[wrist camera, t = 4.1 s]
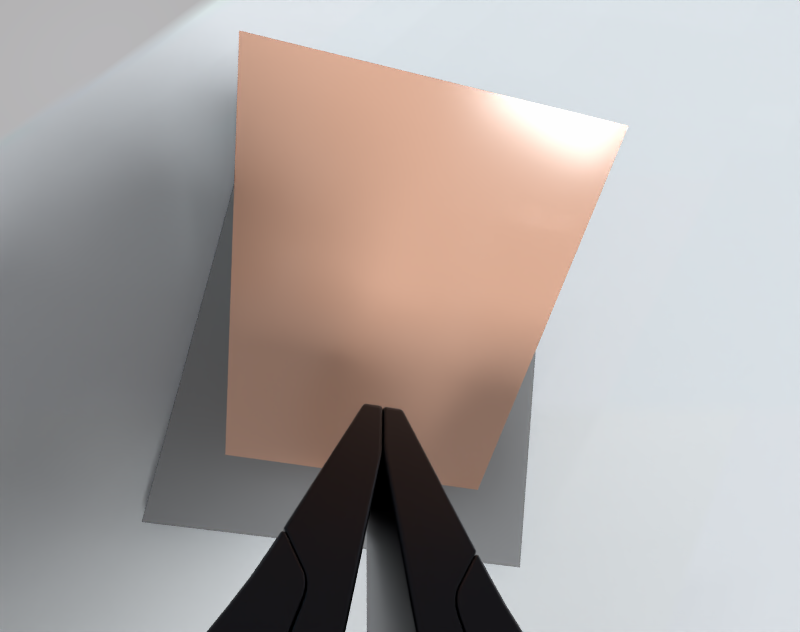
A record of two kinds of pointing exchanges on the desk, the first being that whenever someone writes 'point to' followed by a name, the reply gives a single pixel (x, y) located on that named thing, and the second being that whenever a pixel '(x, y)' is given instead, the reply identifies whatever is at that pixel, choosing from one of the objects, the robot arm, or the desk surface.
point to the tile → (394, 251)
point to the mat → (288, 483)
